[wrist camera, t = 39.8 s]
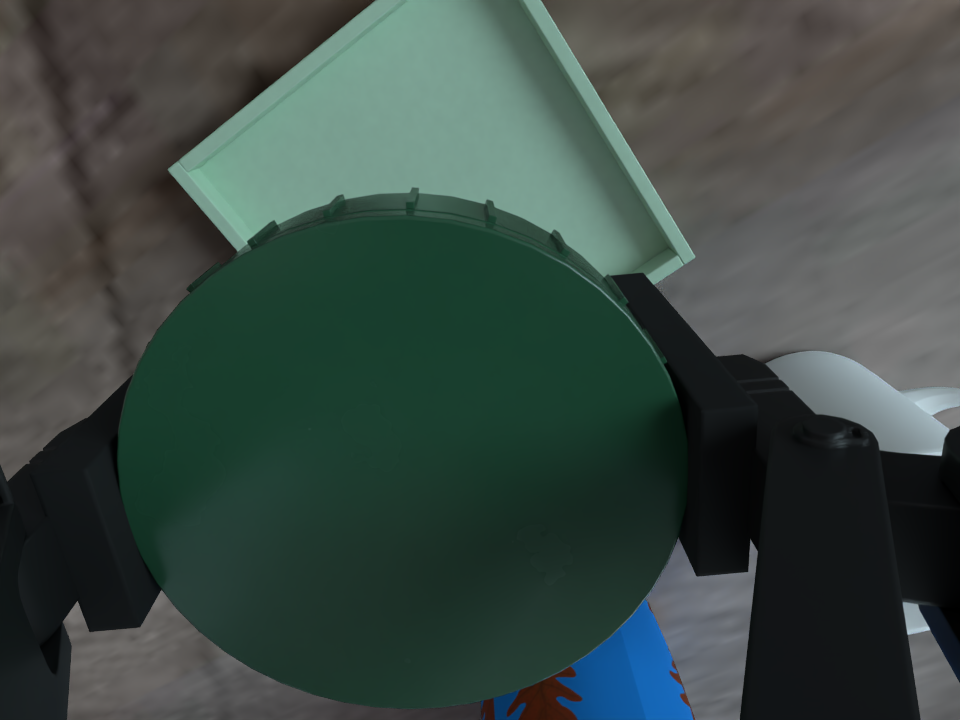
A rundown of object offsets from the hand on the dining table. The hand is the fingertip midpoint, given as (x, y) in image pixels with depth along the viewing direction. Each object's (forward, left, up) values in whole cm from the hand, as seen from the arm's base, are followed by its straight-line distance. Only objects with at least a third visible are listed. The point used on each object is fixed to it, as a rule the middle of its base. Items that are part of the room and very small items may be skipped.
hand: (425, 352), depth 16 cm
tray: (0, 0, -18) cm, 18 cm away
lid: (0, 0, +6) cm, 6 cm away
